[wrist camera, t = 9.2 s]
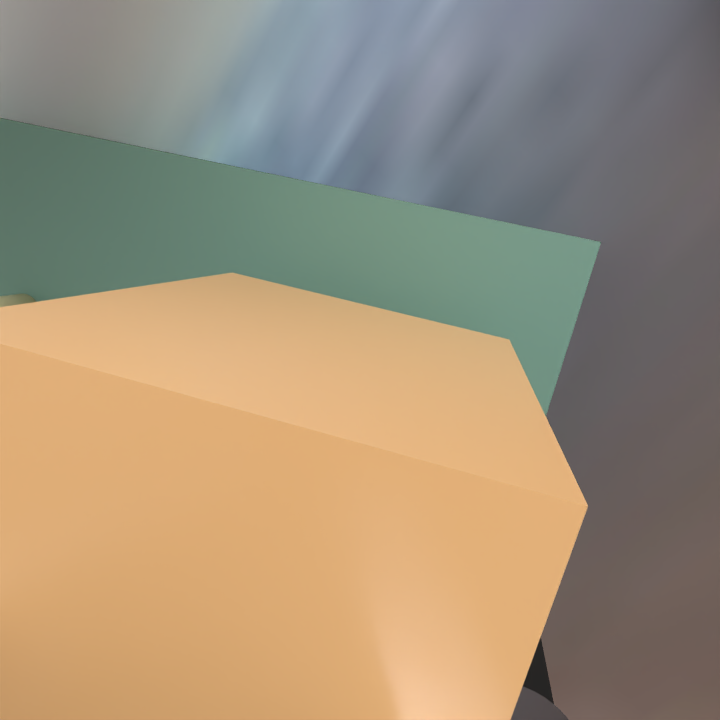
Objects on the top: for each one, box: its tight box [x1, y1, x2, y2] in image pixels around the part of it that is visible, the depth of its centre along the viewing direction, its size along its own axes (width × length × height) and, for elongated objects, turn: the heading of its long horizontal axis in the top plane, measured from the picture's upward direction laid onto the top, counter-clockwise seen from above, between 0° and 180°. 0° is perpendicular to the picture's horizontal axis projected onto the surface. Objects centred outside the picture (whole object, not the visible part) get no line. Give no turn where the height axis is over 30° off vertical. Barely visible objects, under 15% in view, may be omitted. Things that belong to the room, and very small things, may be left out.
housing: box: [0, 273, 588, 720], centre depth 8 cm, size 6×9×6 cm, turn 168°
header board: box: [0, 118, 601, 416], centre depth 13 cm, size 17×13×5 cm
